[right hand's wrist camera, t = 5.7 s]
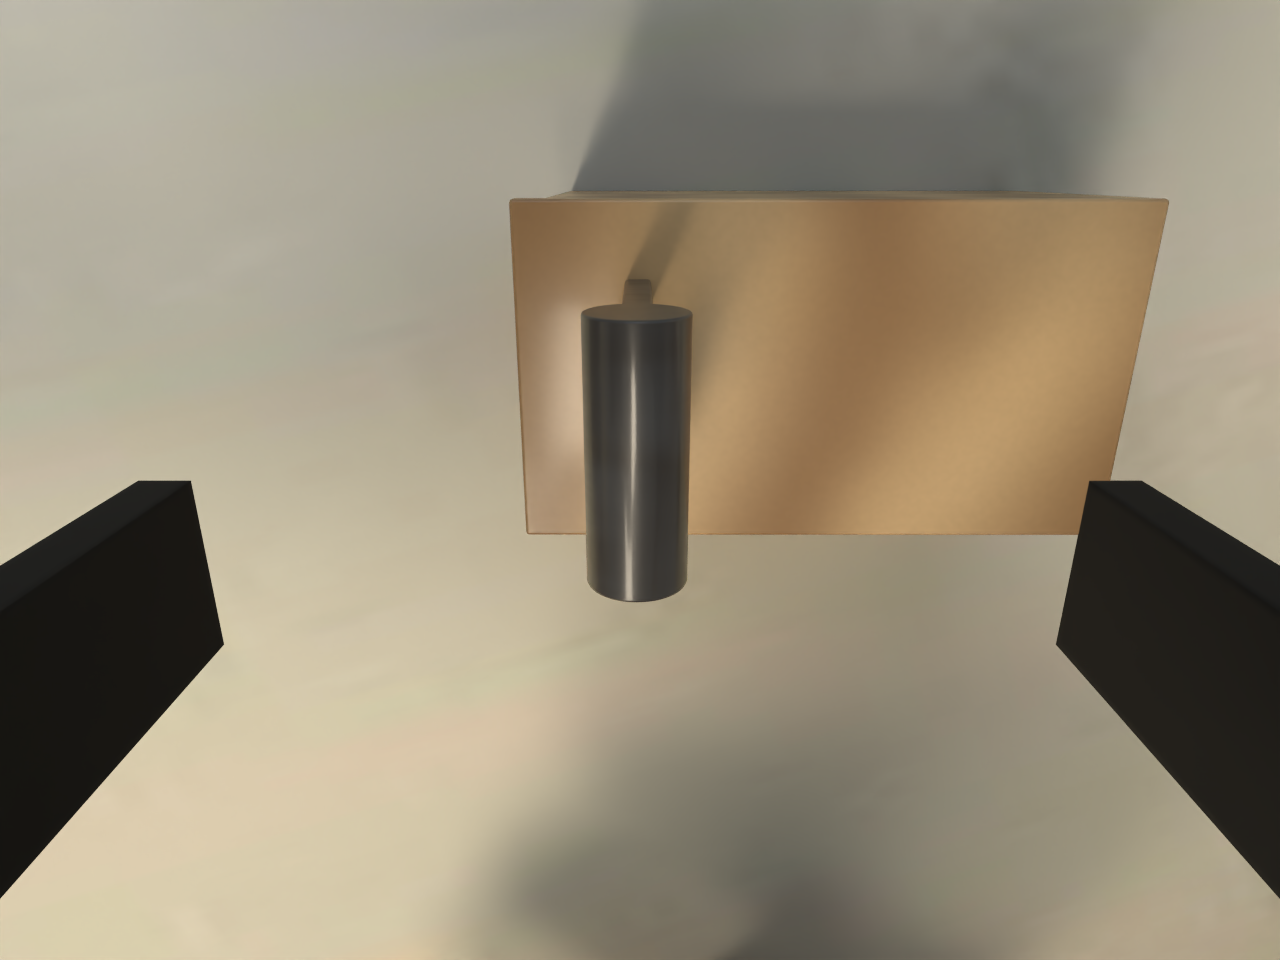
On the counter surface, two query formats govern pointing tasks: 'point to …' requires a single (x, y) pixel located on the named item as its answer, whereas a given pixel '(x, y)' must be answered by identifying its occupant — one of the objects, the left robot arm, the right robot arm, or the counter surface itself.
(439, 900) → the counter surface
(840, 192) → the chest
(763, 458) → the lid
